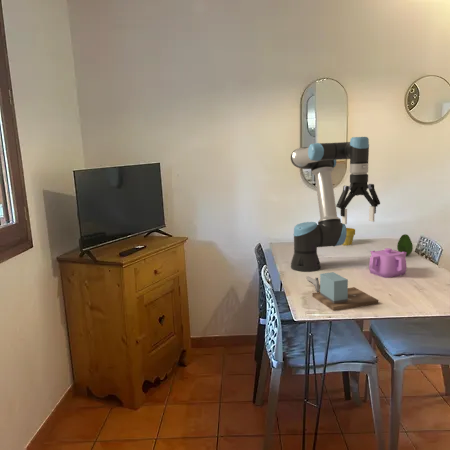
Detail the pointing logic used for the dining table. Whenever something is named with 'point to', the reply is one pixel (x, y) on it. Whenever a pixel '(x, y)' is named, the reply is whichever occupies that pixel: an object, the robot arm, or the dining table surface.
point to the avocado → (405, 244)
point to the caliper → (314, 282)
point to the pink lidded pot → (387, 263)
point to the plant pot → (349, 236)
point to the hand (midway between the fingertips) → (358, 222)
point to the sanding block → (334, 287)
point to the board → (354, 300)
